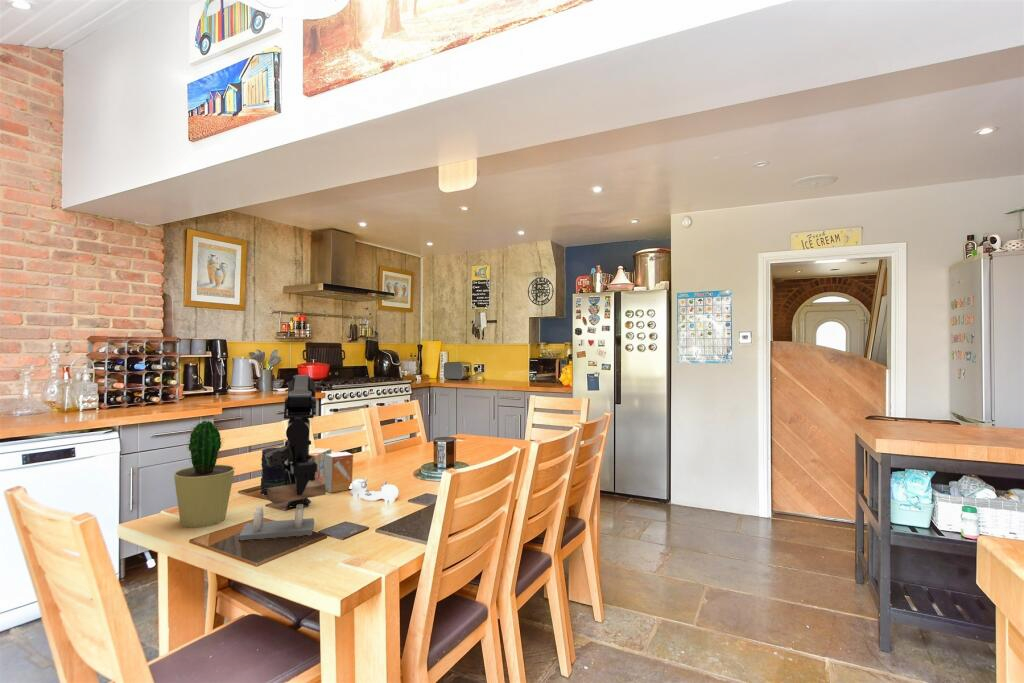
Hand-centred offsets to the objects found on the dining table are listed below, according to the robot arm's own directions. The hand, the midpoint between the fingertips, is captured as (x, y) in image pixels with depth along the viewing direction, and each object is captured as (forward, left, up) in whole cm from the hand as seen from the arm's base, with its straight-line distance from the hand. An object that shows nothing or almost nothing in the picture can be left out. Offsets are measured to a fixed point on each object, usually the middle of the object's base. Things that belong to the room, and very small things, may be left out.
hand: (296, 492), depth 143 cm
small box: (-39, +11, -11) cm, 42 cm away
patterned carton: (-55, +4, -11) cm, 56 cm away
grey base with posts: (+1, -4, -11) cm, 12 cm away
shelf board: (0, 0, -1) cm, 1 cm away
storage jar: (-41, -10, -11) cm, 44 cm away
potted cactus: (-14, -26, -11) cm, 32 cm away
